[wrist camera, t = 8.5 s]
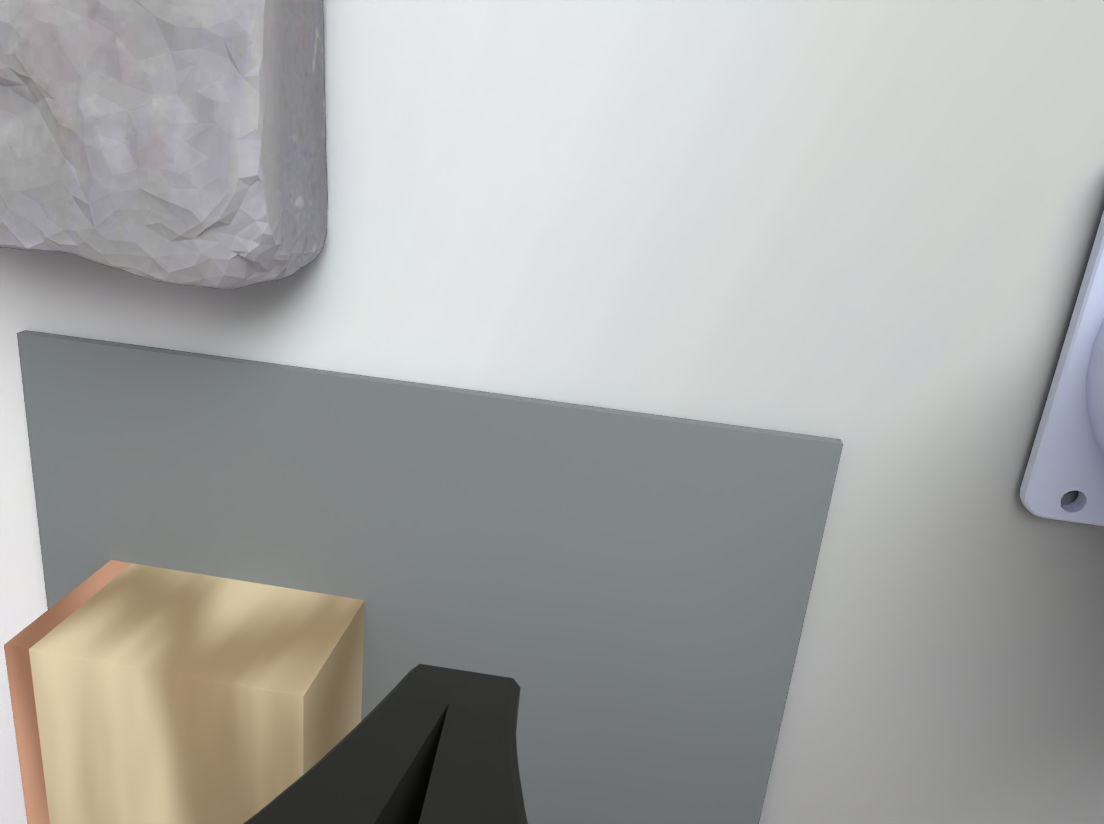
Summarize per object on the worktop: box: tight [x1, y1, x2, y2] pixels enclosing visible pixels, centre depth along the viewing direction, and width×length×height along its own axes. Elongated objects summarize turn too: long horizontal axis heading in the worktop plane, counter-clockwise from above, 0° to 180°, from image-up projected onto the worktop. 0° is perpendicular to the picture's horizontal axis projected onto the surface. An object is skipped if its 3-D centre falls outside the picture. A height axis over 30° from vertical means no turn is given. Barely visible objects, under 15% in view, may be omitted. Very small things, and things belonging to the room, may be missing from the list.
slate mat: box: [17, 330, 843, 824], centre depth 24 cm, size 20×16×1 cm
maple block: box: [4, 560, 365, 824], centre depth 22 cm, size 4×6×7 cm
